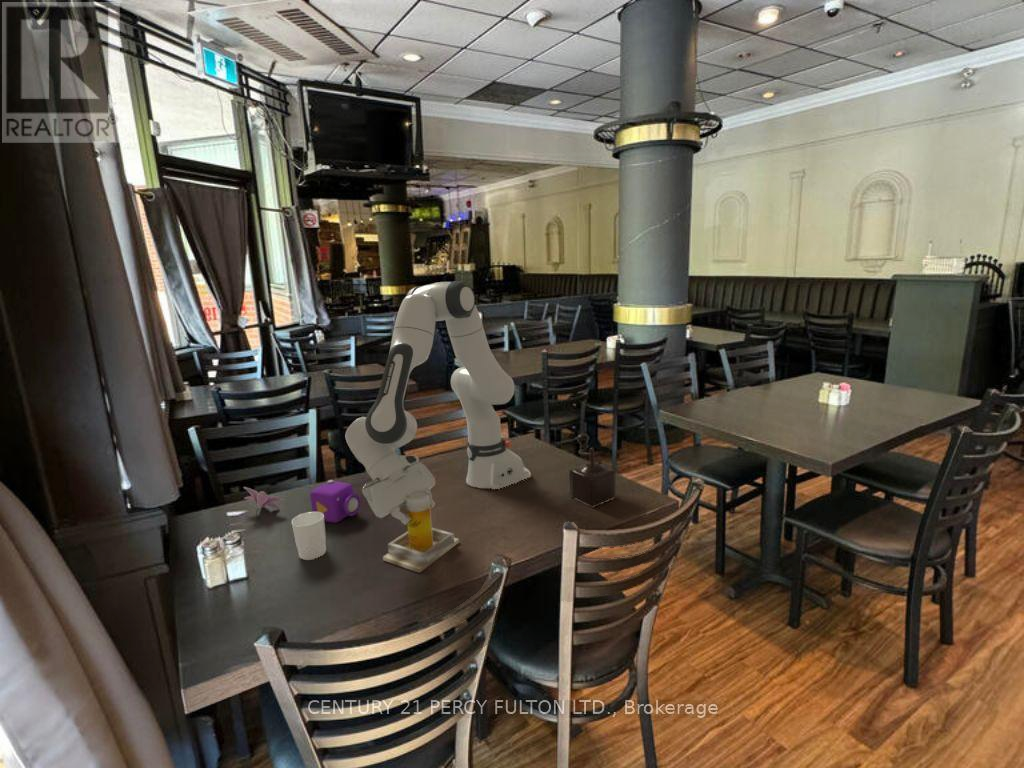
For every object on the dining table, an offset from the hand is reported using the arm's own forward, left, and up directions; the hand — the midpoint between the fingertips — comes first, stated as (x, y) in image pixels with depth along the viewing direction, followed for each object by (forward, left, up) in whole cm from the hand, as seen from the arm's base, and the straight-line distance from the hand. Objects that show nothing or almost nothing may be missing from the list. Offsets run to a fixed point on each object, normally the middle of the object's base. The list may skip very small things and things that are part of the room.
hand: (420, 514), depth 134 cm
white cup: (+26, -15, -11) cm, 31 cm away
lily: (+35, -47, -11) cm, 60 cm away
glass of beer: (0, 0, -10) cm, 10 cm away
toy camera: (+16, -33, -11) cm, 38 cm away
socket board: (0, 0, -10) cm, 10 cm away
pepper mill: (-55, -5, -11) cm, 57 cm away
